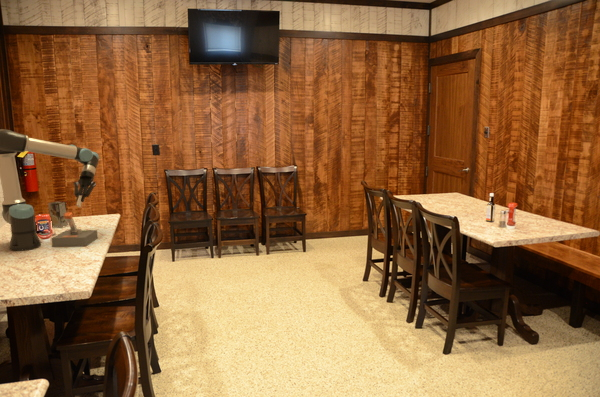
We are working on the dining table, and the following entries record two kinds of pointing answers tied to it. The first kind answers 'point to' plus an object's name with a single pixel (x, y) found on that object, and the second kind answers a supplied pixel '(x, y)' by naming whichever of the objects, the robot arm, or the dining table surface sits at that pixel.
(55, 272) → the dining table surface
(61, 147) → the robot arm
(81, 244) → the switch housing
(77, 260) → the dining table surface
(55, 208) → the coffee box
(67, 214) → the lever
